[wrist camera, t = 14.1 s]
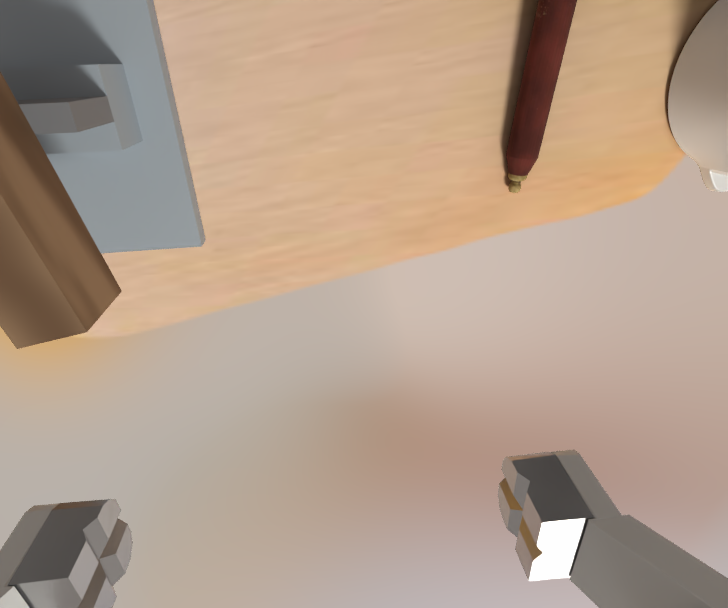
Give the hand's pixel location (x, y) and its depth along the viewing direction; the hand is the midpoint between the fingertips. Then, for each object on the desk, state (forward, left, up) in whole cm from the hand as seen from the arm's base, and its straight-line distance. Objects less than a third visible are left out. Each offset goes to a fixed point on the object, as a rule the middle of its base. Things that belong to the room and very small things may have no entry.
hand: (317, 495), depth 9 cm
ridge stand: (+17, -6, -31) cm, 36 cm away
